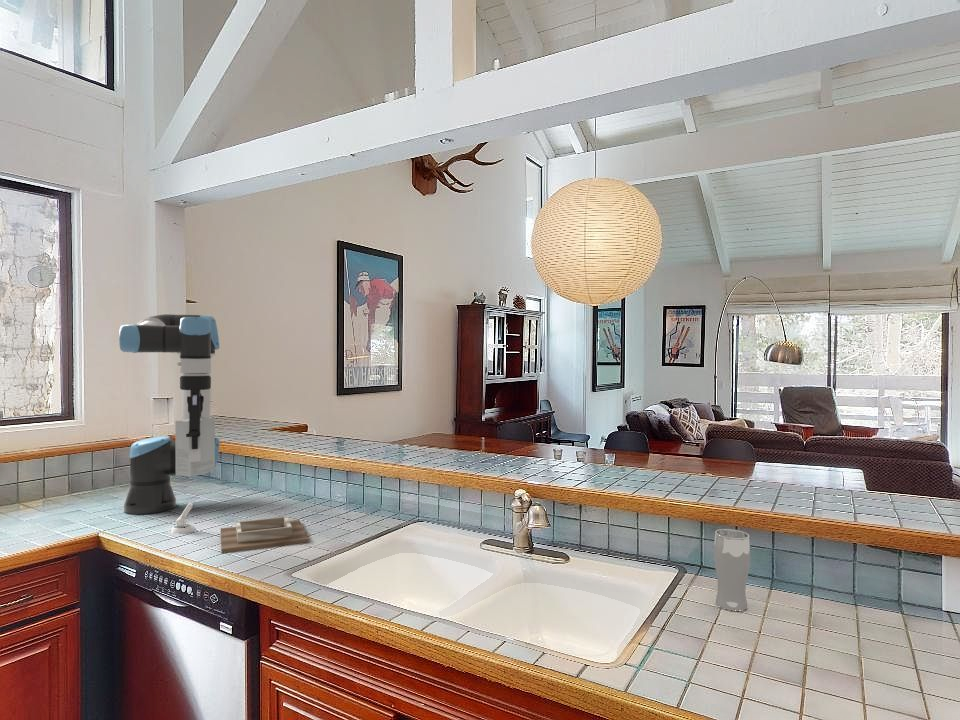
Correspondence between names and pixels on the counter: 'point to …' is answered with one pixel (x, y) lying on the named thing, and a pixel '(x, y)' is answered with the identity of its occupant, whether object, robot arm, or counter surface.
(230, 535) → the holder board
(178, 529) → the hook
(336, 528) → the counter surface
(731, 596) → the beer glass
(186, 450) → the skincare box
